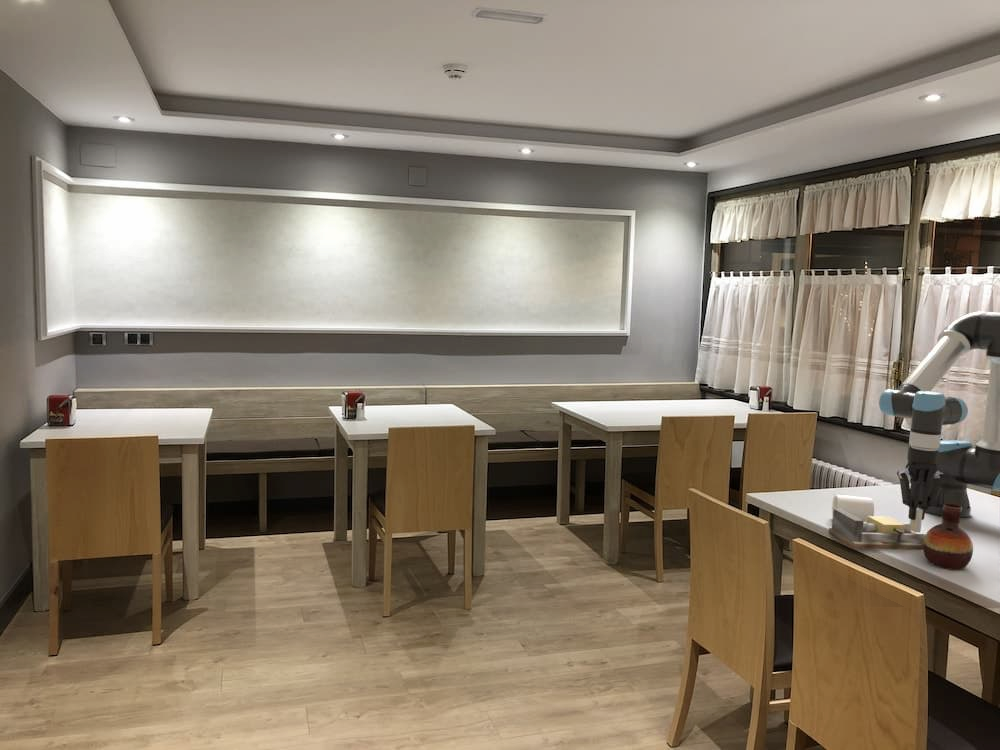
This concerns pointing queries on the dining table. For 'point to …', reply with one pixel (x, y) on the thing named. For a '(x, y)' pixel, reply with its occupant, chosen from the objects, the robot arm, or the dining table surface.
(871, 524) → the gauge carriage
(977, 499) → the dining table surface
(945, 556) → the vase
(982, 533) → the dining table surface
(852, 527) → the bench
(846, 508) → the mug
